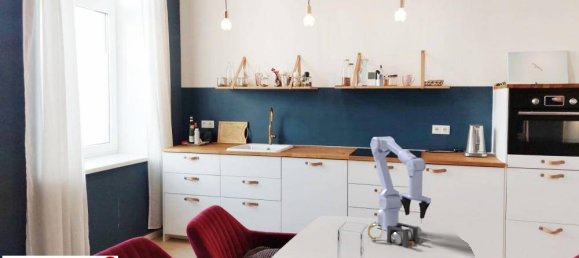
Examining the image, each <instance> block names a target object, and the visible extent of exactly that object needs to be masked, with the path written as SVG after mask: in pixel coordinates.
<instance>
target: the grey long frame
mask: <svg viewBox="0 0 579 258" xmlns="http://www.w3.org/2000/svg"><path fill="white" fill-rule="evenodd" d="M415 227H418V238H420V237H422V235H423V230H422V228H421V227H420V226H418V225H415ZM405 230H408V242H409V241H413V229H411V228H405ZM391 241H392V242H391V243H392V244H394V246H395V245H397V246H398V245H401V244H403V232H401V231H399V232H395V233H393V234H392V235H391Z"/></svg>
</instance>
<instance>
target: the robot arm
mask: <svg viewBox="0 0 579 258" xmlns="http://www.w3.org/2000/svg"><path fill="white" fill-rule="evenodd" d="M370 149H371V154H372V156H373V160H374V163H375V167H376V171H377V174H378V178H379V179H378V180H379V183H380V186H381V190H382V191H381V193H380V194H379V195H378V199H379V207H380V209H379V210H378V211H377V212H378V213H377V221H376V223H378V222H379V224H380V225H381V226H382V227H383V229H384V230H385V231H387V226H389V225H390V226H395V225H397V223H399V220H400V219H399V215H400V213H399V212H400V211H401V208H402V207H403V209H404V214H405V216H408V215H410V213H411V212H410V211H411V202H412V201H418V206H419V219H424V218H425V216H426V213H427V211H428V209H429V207H430V204H431V202H432V198H431V197H427V196H423V174H424V173H423V172H424V171H425V170H426V167H427V166H426V165H427V164H426V161H425V159H424V158H422V157H417V156H416V155H414V154H413V153H412V152H411V151H410V150H409V149H403V148H402V147H401V146H400V145H398V144H397V143H396V142H395V139H394V138H393V137H392V136H389V135H388V136H373V137H372V138H371V141H370ZM390 152H392V153H394V154H395V155H396V156H397V159H398V160H399V161H400V163H403V164H404V165H405V167H406V168H405V169H407V174H408V175H407V176H408V193H407V192H401V193H400V192H399V190H398V191H397V190H396V189H395V188H394V185H393V181H392V177H391V173H390V171H389V170H390V169H389V166H388V161H387V158H386V157H387V156H388V155H389V154H390ZM375 227H376V229H379V230H380V229H381V228H380V227H379V226H375Z"/></svg>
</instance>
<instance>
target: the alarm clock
mask: <svg viewBox="0 0 579 258" xmlns="http://www.w3.org/2000/svg"><path fill="white" fill-rule="evenodd" d="M377 226H379V227H380V228H381V234H380V235H379V236H378V237H376V236H375V237H373V236H371V234H370V232H371V230H372V228H374V227H377ZM380 228H379V229H380ZM367 234H368V235H367V236H369V238H370V239H372V240H374V241H377V240H380V239H381V238H382V237H383V235H384V229H383V227H382V226H381V225H380V224H379V222H378V223H377V221H373V222H371V223H370V224H369V226H368V228H367Z"/></svg>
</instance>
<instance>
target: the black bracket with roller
mask: <svg viewBox="0 0 579 258" xmlns="http://www.w3.org/2000/svg"><path fill="white" fill-rule="evenodd" d="M415 226H416V225H415ZM415 226H414V225H411V224H407V223H402V222H398V223H397V225H395V226H390V225H389V226H387V230H386V231H387V232H386V242H387V243H393V242H392V241H391V235H392V234H393V233H395V232H399V231H401V232H403V243H402V247H403V248H408V246H411V247H414V246H415V245H417V244H418V238H419V237H418V227H419V226H418V227H415ZM404 228H405V229H408V228H411V229H413V240H410V241H408V230H405V229H404Z"/></svg>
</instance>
